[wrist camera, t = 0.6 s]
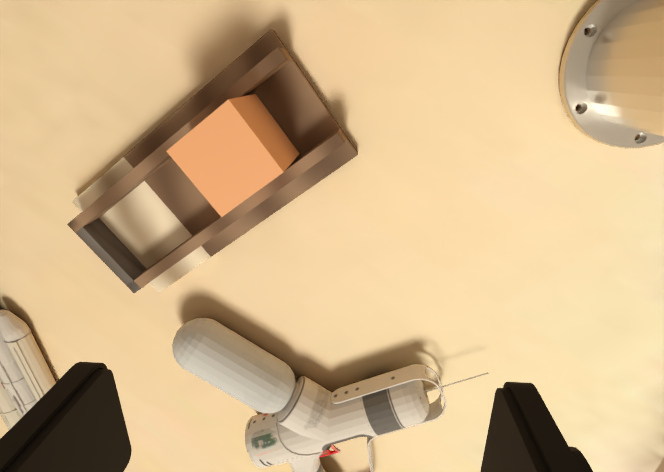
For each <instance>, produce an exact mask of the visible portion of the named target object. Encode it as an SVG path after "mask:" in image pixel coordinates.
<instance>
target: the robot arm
mask: <svg viewBox="0 0 664 472" xmlns="http://www.w3.org/2000/svg"><path fill="white" fill-rule="evenodd" d="M585 28H587V29H588V32H587V34H586V35H585V34H584V30H585ZM559 90H560V95H561V99H562V104H563V106H564V108H565V111H566V113H567V115H568V117H569V118H570V120H571V121H572V122H573V124H574V125H575V126H576V128H578V129H579V130H580V131H581V132H582V133H584V134H585V135H586V136H588V137H590V138H592V139H594V140H596V141H598V142H600V143H603V144H607V145H610V146H614V147H621V148H643V147H648V146H653V145H658V144H661V143H663V142H664V0H598V1H597V2H596V3H594V4H593V5H592V6H591V7H590V8H589V10H588V11H587V12H586V14H585V15H584V16H583V17H582V19H581V20H580V21H579V22H578V24H577V26H576V28H575V29H574V31H573V33H572V35H571V36H570V38H569V40H568V43H567V46H566V48H565V51H564V54H563V56H562V62H561V67H560V72H559ZM577 105H579V108H578V110H575V108H576V106H577ZM636 135H637V137H636ZM635 137H636V138H635ZM130 457H131V445H130V441H129V437H128V433H127V429H126V425H125V421H124V417H123V413H122V409H121V405H120V401H119V397H118V393H117V389H116V385H115V380H114V376H113V373H112V371H111V370H108V369H107V367H106V365H105V364H104V363H91V362H79V363H76V364H75V365H74V366H72V367H71V368H70V369H69V370H68V371H67V372H66V373H65V374H64V375H63V377H62V378H61V379H60V380H59V381H58V382H57V383H56V384H55V385H54V386H53V387H52V388H51V389H50V390H49V391H48V392H47V393H46V394H45V395H44V396H43V397H42V398H41V399H40V400H39V401H38V402H37V403H36V404H35V405H34V406H33V407H32V408H31V409H30V410H29V411H28V412H27V413H26V414H25V415H24V416H23V417H22V418H21V419H20V420H19V421H18V422H17V423H16V424H15V425H14V426H13V427H12V428H11V429H10V430H9V431H8V432H7V433H6V434H5V435H4V436H3V437H2V438H1V439H0V472H123V471H124V470H125V468H126V466H127V465H128V463H129V460H130ZM481 472H593V471H592V469H591V467H590V465H589V464H588V462H587V460H586V459H585V457H584V456H583V454H582V453H581V452H580V451H579V450H578V449H577V448H575V447H568V445H567V443H566V441H565V439H564V438H563V436H562V434H561V432H560V430H559V429H558V427H557V425H556V423H555V421H554V420H553V418H552V416H551V414H550V412H549V410H548V409H547V407H546V405H545V403H544V401H543V400H542V398H541V396H540V394H539V392H538V391H537V389H536V387H535V386H534V385H533V384H532V383H518V382H506V383H505V384H504V387H503V388H497V390H496V393H495V398H494V403H493V408H492V414H491V419H490V424H489V430H488V435H487V440H486V445H485V451H484V456H483V461H482V467H481Z"/></svg>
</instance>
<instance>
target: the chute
mask: <svg viewBox="0 0 664 472" xmlns="http://www.w3.org/2000/svg"><path fill="white" fill-rule="evenodd" d="M253 94H256V95H257V96H258V98H259V99H260V100H261V102H262V103H263V105H264V106H265V107H266V109H267V110H268V111H269V113H270V114H271V115H272V117H273V118H274V120H275V121H276V122H277V124H278V125H279V126H280V128H281V129H282V130H283V132H284V133H285V135H286V136H287V137H288V139H289V140H290V141H291V143H292V144H293V145H294V147H295V148H296V150H297V151H298V152H299V155H298V156H297V157H296V158H295V160H294V161H293V162H292V163H291V164H290V165H289V167H288V168H287V169H286V170H285V171H284V172H283V173H282V174H281V175H279V176H278V177H276V178H275V179H274V180H272V181H271V182H270V183H268V184H267V185H265V186H264V187H263V188H261V189H260V190H259V191H257V192H256V193H254V194H253V195H252V196H250V197H249V198H248V199H246V200H245V201H243V202H242V203H241V204H239V205H238V206H236V207H235V208H234V209H232V210H231V211H230V212H228V213H227V214H225V215H224V216H223V217H221V216H220V215H219V214H218V213H217V211H216V210H215V209H214V208H213V207H212V205H211V204H210V203H209V202H208V201H207V199H206V198H205V197H204V196H203V195H202V193H201V192H200V191H199V190H198V189H197V187H196V186H195V185H194V184H193V183H192V181H191V180H190V179H189V178H188V177H187V175H186V174H185V173H184V172H183V171H182V170H181V168H180V167H179V166H178V165H177V164H176V162H175V161H174V160H173V159H172V158H171V156H170V155H169V154H168V153H167V152H166V151H167V150H168V149H169V148H171V147H172V146H173V145H174V144H175V143H177V142H178V141H179V140H180V139H181V138H183V137H184V136H185V135H186V134H187V133H189V132H190V131H191V130H192V129H193V128H195V127H196V126H197V125H198V124H199V123H201V122H202V121H203V120H204V119H205V118H207V117H208V116H209V115H210V114H211V113H213V112H214V111H215V110H216V109H217V108H219V107H220V106H221V105H222V104H223V103H225V102H226V101H227V100H228V99H233V98H238V97H243V96H248V95H253ZM357 155H358V152H357V151H356V149H355V148H354V146H353V145H352V144H351V142H350V141H349V139H348V138H347V136H346V135H345V133H344V132H343V130H342V129H341V128H340V126H339V125H338V123H337V122H336V120H335V119H334V117H333V116H332V115H331V113H330V112H329V110H328V109H327V107H326V106H325V104H324V103H323V101H322V100H321V99H320V97H319V96H318V94H317V93H316V91H315V90H314V88H313V87H312V85H311V84H310V83H309V81H308V80H307V78H306V77H305V75H304V74H303V72H302V71H301V70H300V68H299V67H298V65H297V64H296V62H295V61H294V59H293V58H292V56H291V55H290V54H289V52H288V51H287V49H286V48H285V46H284V45H283V43H282V42H281V40H280V39H279V38H278V36H277V35H276V33H275V32H274V31H273V30H270V31H269V32H267V33H266V34H265V35H264V36H263V37H262V38H260V39H259V40H258V41H257V42H256V43H255V44H254V45H252V46H251V47H250V48H249V49H248V50H247V51H245V52H244V53H243V54H242V55H241V56H240V57H238V58H237V59H236V60H235V61H234V62H233V63H232V64H230V65H229V66H228V67H227V68H226V69H225V70H223V71H222V72H221V73H220V74H219V75H218V76H217V77H215V78H214V79H213V80H212V81H211V82H210V83H208V84H207V85H206V86H205V87H204V88H203V89H201V90H200V91H199V92H198V93H197V94H196V95H195V96H193V97H192V98H191V99H190V100H189V101H188V102H186V103H185V104H184V105H183V106H182V107H181V108H179V109H178V110H177V111H176V112H175V113H174V114H173V115H171V116H170V117H169V118H168V119H167V120H166V121H164V122H163V123H162V124H161V125H160V126H159V127H158V128H156V129H155V130H154V131H153V132H152V133H151V134H149V135H148V136H147V137H146V138H145V139H144V140H142V141H141V142H140V143H139V144H138V145H137V146H136V147H134V148H133V149H132V150H131V151H130V152H129V153H127V154H126V155H125V156H124V157H123V158H122V159H121V160H119V161H118V162H117V163H116V164H115V165H114V166H112V167H111V168H110V169H109V170H108V171H107V172H105V173H104V174H103V175H102V176H101V177H100V178H99V179H97V180H96V181H95V182H94V183H93V184H92V185H90V186H89V187H88V188H87V189H86V190H85V191H84V192H82V193H81V194H80V195H79V196H78V197H77V198H75V199H74V200H73V201H72V202H73V203H74V204H75V205H76V206H77V207H78V208H79V210H80V211H81V213H80V214H79V215H78V216H77V217H75V218H74V219H73V220H72V221H71V222H69V223H68V224H67V225H68V226H69V227H70V228H71V229H72V230H73V231H74V232H75V233H76V234H77V235H78V236H79V237H80V238H81V239H82V240H83V241H84V242H85V243H86V244H87V245H88V246H89V247H90V248H91V249H92V250H93V251H94V252H95V253H96V255H97V256H98V257H99V258H100V259H101V260H102V261H103V262H104V263H105V264H106V265H107V266H108V267H109V268H110V269H111V270H112V271H113V272H114V273H115V274H116V275H117V276H118V277H119V278H120V279H121V280H122V281H123V282H124V283H125V285H126V286H127V287H128V288H129V289H130V290H131V291H132V292H133V293H135V292H137V291H138V290H139V289H141V288H142V287H144V286H145V285H146V284H148V283H149V284H150V285H151V286H152V287H153V288H154V289H155V290H156V291H157V292H158V293H160V292H161V291H162V290H164V289H165V288H167V287H168V286H170V285H171V284H172V283H174V282H175V281H177V280H178V279H180V278H181V277H183V276H184V275H185V274H187V273H188V272H190V271H191V270H193V269H194V268H196V267H197V266H198V265H200V264H201V263H203V262H204V261H206V260H207V259H208V258H210V257H211V256H213V255H214V254H216V253H217V252H219V251H220V250H221V249H223V248H224V247H226V246H227V245H229V244H230V243H232V242H233V241H234V240H236V239H237V238H239V237H240V236H242V235H243V234H244V233H246V232H247V231H249V230H250V229H252V228H253V227H255V226H256V225H257V224H259V223H260V222H262V221H263V220H265V219H266V218H268V217H269V216H270V215H272V214H273V213H275V212H276V211H278V210H279V209H281V208H282V207H283V206H285V205H286V204H288V203H289V202H291V201H292V200H293V199H295V198H296V197H298V196H299V195H301V194H302V193H304V192H305V191H306V190H308V189H309V188H311V187H312V186H314V185H315V184H317V183H318V182H319V181H321V180H322V179H324V178H325V177H327V176H328V175H329V174H331V173H332V172H334V171H335V170H337V169H338V168H340V167H341V166H342V165H344V164H345V163H347V162H348V161H350V160H351V159H353V158H354V157H355V156H357Z"/></svg>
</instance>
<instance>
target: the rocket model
mask: <svg viewBox="0 0 664 472" xmlns="http://www.w3.org/2000/svg"><path fill="white" fill-rule="evenodd" d="M55 384H56V382H55V380H54V378H53V376H52V374H51V372H50V370H49V367H48V365H47V363H46V361H45V359H44V357H43V355H42V353H41V351H40V349H39V347H38V345H37V343H36V341H35V339H34V337H33V335H32V333H31V329H29V327H28V325H27V324H26V323H25V322H24V321H23V320H21V319H20V318H19V317H17V316H16V315H14V314H13V313H11V312H10V311H7V310H0V415H1V417H2V419H3V420H4V422H5V424H6V426H7V427H8V429H9V430H10V429H11V428H12V427H13V426H14V425H15V424H16V423H17V422H18V421H19V420H20V419H21V418H22V417H23V416H24V415H25V414H26V413H27V412H28V411H29V410H30V409H31V408H32V407H33V406H34V405H35V404H36V403H37V402H38V401H39V400H40V399H41V398H42V397H43V396H44V395H45V394H46V393H47V392H48V391H49V390H50V389H51V388H52V387H53V386H54V385H55Z"/></svg>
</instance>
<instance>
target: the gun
mask: <svg viewBox="0 0 664 472" xmlns="http://www.w3.org/2000/svg"><path fill="white" fill-rule="evenodd" d="M173 354H174V358H175V359H176V361H177V363H178V364H179V365H180V366H181V367H182V368H183V369H185V370H187V371H188V372H190V373H192V374H194V375H195V376H197V377H199V378H201V379H202V380H204V381H206V382H208V383H209V384H211V385H213V386H214V387H216V388H218V389H220V390H221V391H223V392H225V393H227V394H228V395H230V396H232V397H234V398H235V399H237V400H239V401H241V402H242V403H244V404H246V405H248V406H249V407H251V408H253V409H254V410H256V411H258V412H262V414H258V415H255V416H252V417H251V418H250V419H249V421H248V423H247V426H246V430H245V443H246V448H247V452H248V453H249V456H250V458H251V460H252V462H253V463H254V464H255V465H256V466H257V467H259V468H265V467H269V466H272V465H281V464H284V463H288V462H289V463H290V465H291V467H292V470H293V472H325V470H324V468H323V467H322V464H321V462H320V459H319V458H320V457H324V456H328V455H331V454H335V453H338V452H340V450H339V449H338V448H336V447H335V446H334V445H333V444H336V443H339V442H343V441H346V440H350V439H353V438H357V437H367V451H368V458H369V465H370V472H374V469H373V462H372V454H371V447H370V442H371V441H372V440H373V439H374V438H376V437H378V436H381V435H384V434H388V433H391V432H395V431H398V430H402V429H405V428H409V427H412V426H416V425H419V424H423V423H427V422H430V421H434V420H436V419H438V418H439V417H440V416H442V414H443V413H444V411H445V409H446V399H445V397H444V395H443V387H445V386H448V385H451V384H448V385H445V386H442V384H441V382H440V380H439V378H438V376H437V374H436V372H435V371H434V370H433V369H432V368H430V367H428V366H425V365H420V364H413V365H409V366H406V367H403V368H400V369H397V370H394V371H391V372H387V373H384V374H381V375H378V376H375V377H372V378H369V379H366V380H362V381H359V382H356V383H353V384H350V385H347V386H344V387H341V388H338V389H337V390H335V391H334V392H330V391H329V390H327V389H325V388H324V387H322V386H320V385H319V384H317V383H315V382H314V381H312V380H310V379H309V378H307V377H305V376H301V377H299V378H297V379H296V380H295V376H294V373H293V371H292V369H291V368H290V367H289V366H288V365H287V364H286V363H285V362H283V361H282V360H280V359H278V358H277V357H275V356H273V355H272V354H270V353H268V352H267V351H265V350H263V349H262V348H260V347H258V346H257V345H255V344H253V343H252V342H250V341H248V340H247V339H245V338H243V337H242V336H240V335H238V334H237V333H235V332H233V331H232V330H230V329H228V328H227V327H225V326H223V325H222V324H220V323H219V322H217V321H215V320H213V319H209V318H196V319H193V320H190V321H188V322H187V323H185V324H184V325H183V326H182V327H181V328H180V329H179V330H178V331H177V333H176V335H175V338H174V340H173ZM425 369H429V370H430V371H432V372H433V373H434V374H435V376H436V378H437V380H438V382H439V384H440V386H441V387H439V385H438V384H437V383H436V382H434V381H433V380H431V379H429V378H428V377H427V376H426V373H425ZM485 374H488V373H485ZM485 374H481V375H485ZM481 375H478V376H481ZM478 376H475V377H478ZM475 377H472V378H475ZM468 379H471V378H468ZM468 379H465V380H468ZM421 380H425V381H429V382H431V383H433V384H434V385H436V386H437V387H438V388H435V389H439V391H440V393H441V394H440V396H439V398H438V399H437V400H436V401H435V402H433V403H431V404H429V400H428V396H427V393H426V392H428V391H431V390H428V391H426V390H425V387H424V385H423V382H422V381H421ZM465 380H462V381H465ZM458 382H461V381H458ZM458 382H455V383H458ZM455 383H452V384H455ZM440 388H441V389H440ZM435 389H432V390H435ZM441 397H443V399H444V408H443V409H442V406H441ZM330 447H332V448H333V449H334V451H330V450H329V448H330ZM369 451H370V453H369ZM370 458H371V461H370ZM371 466H372V468H371Z"/></svg>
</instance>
